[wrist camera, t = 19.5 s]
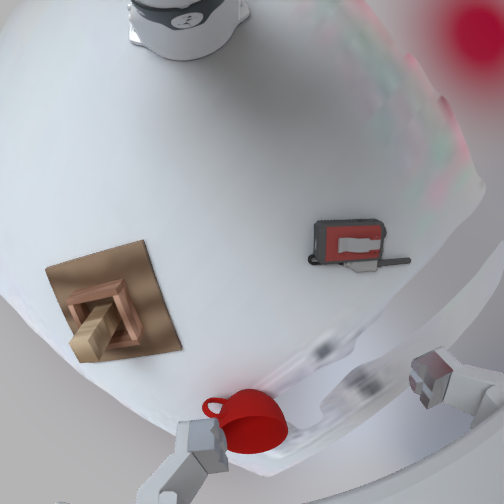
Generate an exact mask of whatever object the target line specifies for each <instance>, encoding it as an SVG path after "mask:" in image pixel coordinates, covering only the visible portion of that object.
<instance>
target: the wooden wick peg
mask: <svg viewBox="0 0 504 504" xmlns="http://www.w3.org/2000/svg"><path fill="white" fill-rule="evenodd" d="M121 320H122V318H121V315H120V313H119V311H118V308H117V306H116V304H115V301H111V302H106V303H101V304H97V305H96V307H95V308H94V309H93V311H92V312H91V313H90V315H89V316H88V317H87V319H86V320H85V321H84V323H83V324H82V325H81V327H80V328H79V329H78V331H77V332H76V334H75V335H74V336H73V338H72V339H71V341H70V342H69V344H70V346H71V348H72V350H73V352H74V354H75V355H76V357H77V359H78V361H79V362H80V363H87V362H96V361H99V360H100V358H101V356H102V354H103V353H104V351H105V349H106V347H107V345H108V343H109V341H110V339H111V338H112V336H113V334H114V332H115V330H116V329H117V327H118V325H119V323H120V321H121Z"/></svg>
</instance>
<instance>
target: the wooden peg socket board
mask: <svg viewBox="0 0 504 504" xmlns="http://www.w3.org/2000/svg"><path fill="white" fill-rule="evenodd" d="M45 271H46V274H47V276H48V279H49V281H50V284H51V286H52V289H53V291H54V294H55V296H56V298H57V301H58V303H59V305H60V307H61V310H62V312H63V314H64V316H65V318H66V320H67V322H68V324H69V326H70V328H71V330H72V332H73V334H74V335H75V334H76V332H77V331H78V329H79V328H80V327H81V325H82V324H83V323H84V321H85V320H86V319H87V317H88V316H89V315H90V313H91V312H92V311H93V309H94V308H95V307H96V305H97V304H101V303H106V302H111V301H115V304H116V306H117V308H118V311H119V313H120V315H121V318H122V320H121V321H120V323H119V325H118V327H117V329H116V330H115V332H114V334H113V336H112V338H111V339H110V341H109V343H108V345H107V347H106V349H105V351H104V353H103V354H102V356H101V358H100V360H99V361H96V362H101V361H110V360H118V359H126V358H133V357H140V356H147V355H154V354H160V353H166V352H172V351H178V350H181V349H182V346H181V343H180V341H179V338H178V336H177V333H176V331H175V328H174V326H173V323H172V321H171V318H170V315H169V313H168V310H167V308H166V305H165V302H164V299H163V297H162V294H161V291H160V288H159V285H158V283H157V280H156V277H155V274H154V271H153V268H152V265H151V262H150V259H149V256H148V253H147V249H146V246H145V243H144V240H140V241H136V242H133V243H129V244H125V245H122V246H118V247H115V248H111V249H108V250H104V251H100V252H97V253H94V254H90V255H87V256H83V257H80V258H76V259H73V260H70V261H66V262H63V263H60V264H57V265H53V266H50V267H47V268H46V269H45ZM89 363H92V362H89Z"/></svg>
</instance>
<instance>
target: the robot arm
mask: <svg viewBox="0 0 504 504" xmlns="http://www.w3.org/2000/svg"><path fill="white" fill-rule="evenodd" d="M127 7H128V10H129V11H131V14H129V16H128V17H129V20H130V28H129V40H130V42H131V43H133V44H136V45H141V46H146V47H147V48H149V49H150V50H152V51H153V52H154V53H156V54H157V55H159V56H161V57H164V58H167V59H172V60H192V59H197V58H201V57H204V56H206V55H209V54H211V53H213V52H214V51H216V50H218V49H219V48H220V47H222V46H223V45H224V44H225V43H226V42H227V41H228V40H229V38H230V37H231V35H232V34H233V32H234V30H235V28H236V27H237V25H238V24H240V23H241V22H242V21H244V20H245V19H246V18H247V17H248V16H249V15H250V9H249V7H248V5H247V4H246V2H245V0H130V3H128V5H127ZM411 367H412V368H413V370H412V372H411V373H410V376H409V382H410V386H411V388H412V390H413V391H414V393H416V394H419V395H420V401H421V402H422V403H423V405H424V406H425V407H426V409H429V408H431V407H433V406H435V405H437V404H439V403H441V402H443V403H445V404H448V405H450V406H452V407H454V408H456V409H459V410H461V411H463V412H465V413H468V414H470V415H472V416H475V417H474V419H473V421H472V423H471V425H470V428H471V430H470V431H469V432H467V433H465V434H464V435H462V436H461V437H459V438H458V439H456V440H454V441H453V442H451V443H450V444H448V445H446V446H445V447H443V448H441V449H440V450H438V451H436V452H434V453H432V454H431V455H429V456H427V457H425V458H423V459H421V460H420V461H417V462H415V463H413V464H411V465H409V466H407V467H405V468H403V469H401V470H399V471H397V472H395V473H392V474H390V475H388V476H386V477H383V478H381V479H378V480H376V481H373V482H371V483H368V484H365V485H363V486H360V487H357V488H355V489H352V490H349V491H346V492H343V493H340V494H336V495H333V496H330V497H326V498H323V499H319V500H315V501H312V502H308V503H304V504H504V373H500V372H495V371H491V370H487V369H482V368H478V367H474V366H470V365H466V364H465V365H462V364H461V363H460V362H459V361H457V359H456V358H455V357H454V356H453V355H452V354H451V353H450V352H449V351H448V350H446V349H445V348H444V347H442V346H440V347H438V348H436V349H434V350H432V351H430V352H428V353H426V354H424V355H422V356H420V357H417V358H415V359H413V361H412V363H411ZM226 451H227V442H226V437H225V434H224V432H223V430H222V429H221V428H219V422H218V420H217V418H209V419H200V420H191V421H181V422H179V423H178V424H177V431H176V440H175V450H174V453H171V454H170V455H169V456H168V457H167V458H166V459H165V461H164V462H163V463H162V464H161V465H160V466H159V467H158V468H157V469H156V471H155V472H154V473H153V474H152V475H151V476H150V477H149V478H148V479H147V480H146V481H145V482H144V484H143V485H142V486H141V487H140V488H139V489H138V492H137V498H136V504H190V503H191V502H192V500H193V498H194V497H195V495H196V494H197V492H198V490H199V489H200V487H201V486H202V484H203V482H204V481H205V479H206V478H207V476H208V474H212V473H219V472H227V471H229V470H228V458H227V456H226V454H225V452H226ZM54 504H69V503H65V502H56V503H54Z"/></svg>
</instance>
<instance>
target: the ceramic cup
mask: <svg viewBox="0 0 504 504" xmlns="http://www.w3.org/2000/svg"><path fill="white" fill-rule="evenodd" d="M208 403H220V404H224V405H223V406H222V408H221V410H220V413H219V414H215V413H213V412H211V411H210V410H209V408H208ZM202 410H203V412H204V414H205V415H206V416H208V417H209V418H217V419H218V422H219V428H221V429H222V430H223V432H224V434H225V437H226V442H227V450H229V451H232V452H235V453H241V454H256V453H262V452H265V451H269V450H271V449H273V448H275V447H277V446H278V445H280V444H281V443H282V442H283V441H284V440H285V439H286V437H287V434H288V427H287V423H286V420H285V418H284V415H283V413H282V411H281V409H280V407H279V406H278V404H277V403H276V402H275V401H274V400H273V399H272V398H271V397H270V396H268V395H266V394H265V393H262V392H260V391H257V390H253V389H245V390H241V391H239V392H237V393H236V394H234V395H233V396H231V397H230V398H229V399H228V400H227V399H223V398H215V397H214V398H209V399H207V400H206V401H205V402H204V403H203V405H202Z"/></svg>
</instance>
